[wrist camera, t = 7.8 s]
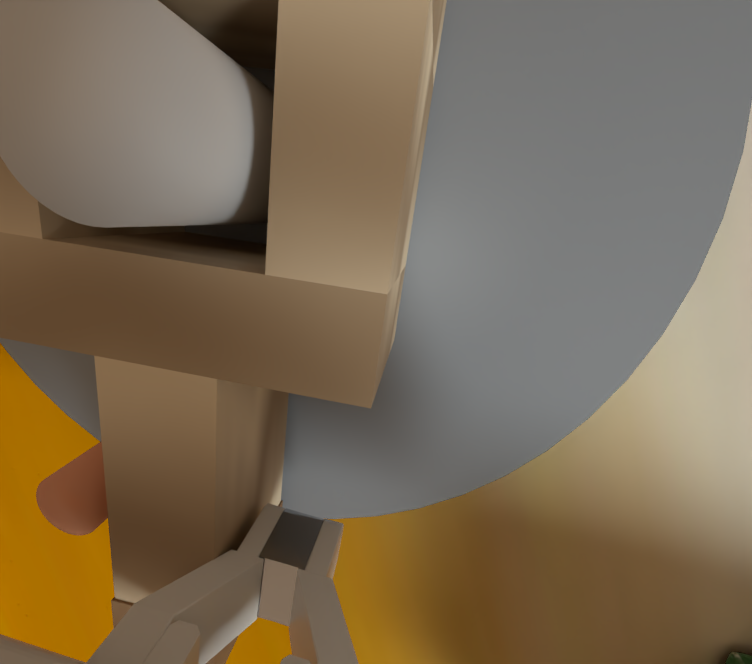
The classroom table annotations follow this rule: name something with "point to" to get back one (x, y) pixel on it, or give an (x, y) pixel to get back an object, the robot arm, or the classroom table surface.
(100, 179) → the post plate
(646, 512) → the classroom table surface
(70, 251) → the tan framed block piece
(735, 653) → the chalk box
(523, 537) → the classroom table surface
